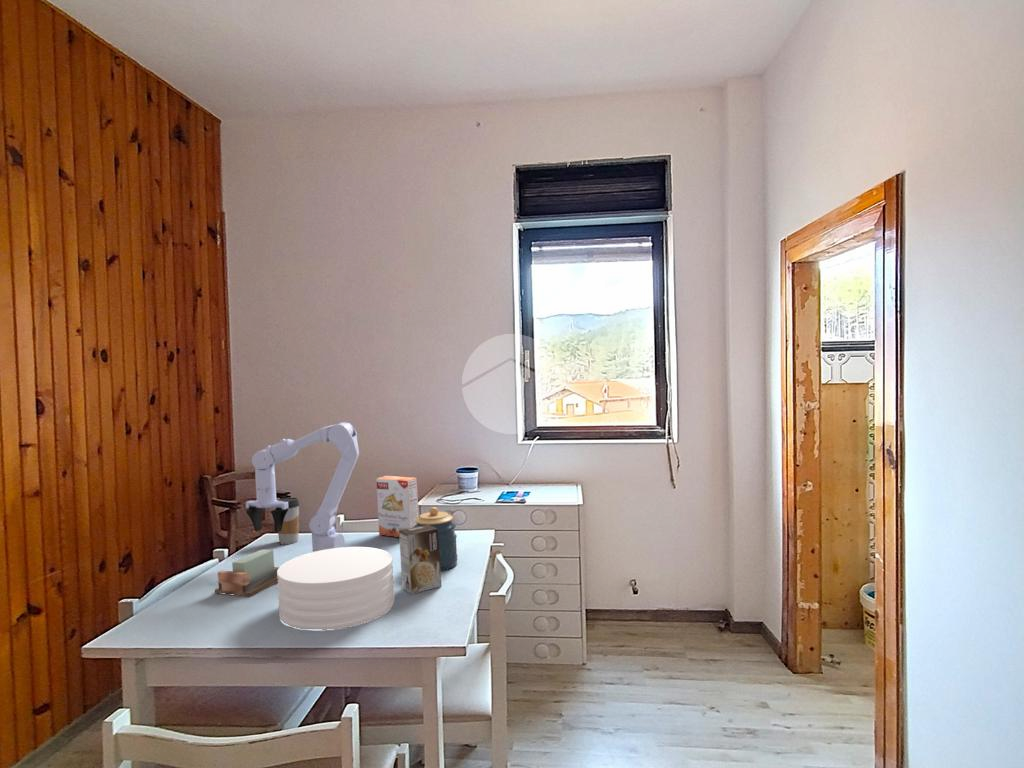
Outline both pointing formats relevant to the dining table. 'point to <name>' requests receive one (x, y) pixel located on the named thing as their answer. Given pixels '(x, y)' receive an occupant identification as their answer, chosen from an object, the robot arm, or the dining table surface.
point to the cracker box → (396, 504)
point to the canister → (442, 535)
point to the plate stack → (335, 587)
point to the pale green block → (255, 564)
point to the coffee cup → (290, 522)
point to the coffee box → (420, 558)
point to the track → (244, 582)
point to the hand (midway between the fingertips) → (268, 530)
